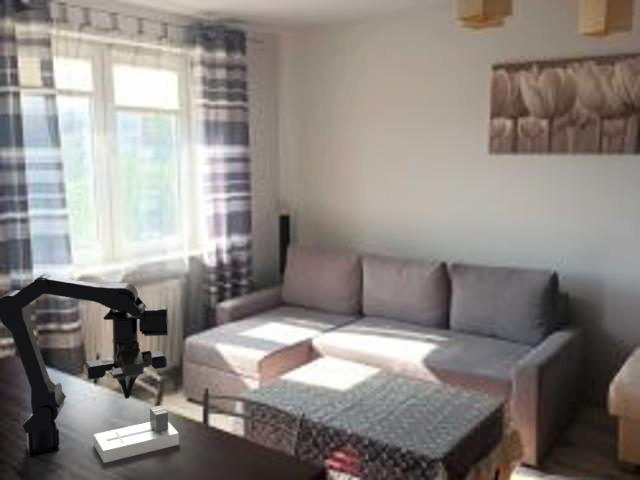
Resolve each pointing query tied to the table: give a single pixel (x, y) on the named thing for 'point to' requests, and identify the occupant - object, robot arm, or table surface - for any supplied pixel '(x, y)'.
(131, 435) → the console
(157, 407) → the fader
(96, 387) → the table surface
